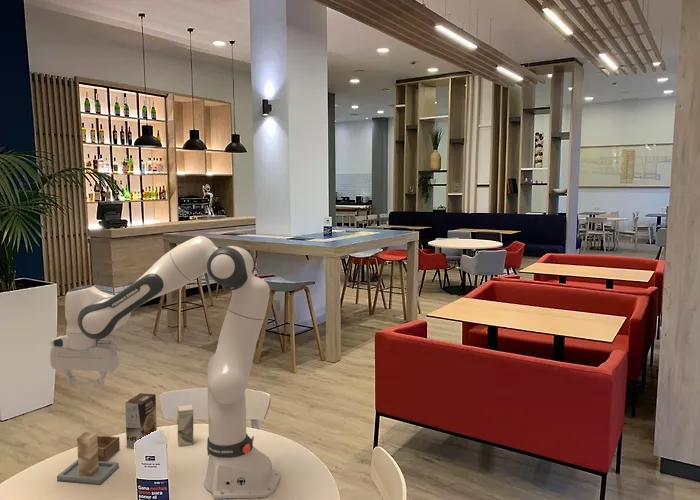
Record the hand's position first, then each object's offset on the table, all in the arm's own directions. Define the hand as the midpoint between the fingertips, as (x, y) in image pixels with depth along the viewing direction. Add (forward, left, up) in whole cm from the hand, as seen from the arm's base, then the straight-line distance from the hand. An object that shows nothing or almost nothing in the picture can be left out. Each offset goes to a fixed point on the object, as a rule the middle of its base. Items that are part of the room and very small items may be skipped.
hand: (86, 383), depth 162 cm
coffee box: (-6, -21, -29) cm, 37 cm away
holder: (+3, -11, -29) cm, 31 cm away
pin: (0, +1, -29) cm, 29 cm away
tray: (0, 0, -29) cm, 29 cm away
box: (-21, -23, -29) cm, 43 cm away
